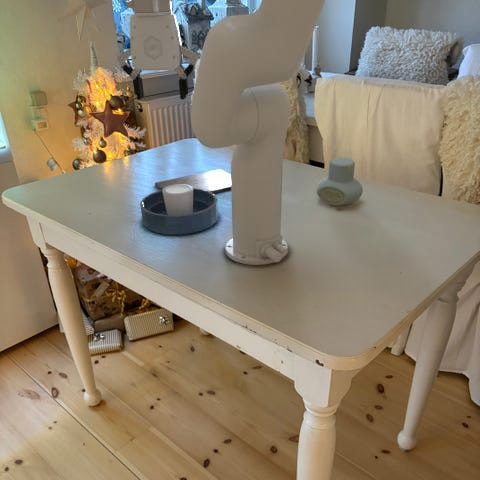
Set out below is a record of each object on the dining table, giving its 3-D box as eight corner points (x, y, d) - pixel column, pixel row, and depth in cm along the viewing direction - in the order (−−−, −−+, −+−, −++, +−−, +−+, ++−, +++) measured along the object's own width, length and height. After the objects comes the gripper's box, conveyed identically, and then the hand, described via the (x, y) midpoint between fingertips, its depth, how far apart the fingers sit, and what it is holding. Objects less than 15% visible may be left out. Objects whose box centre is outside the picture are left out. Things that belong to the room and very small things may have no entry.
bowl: (231, 223, 111) (230, 204, 108) (161, 242, 103) (159, 222, 101) (196, 200, 123) (195, 182, 120) (131, 215, 116) (129, 197, 113)
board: (245, 186, 130) (245, 183, 130) (177, 202, 122) (177, 198, 121) (219, 172, 140) (219, 169, 140) (155, 186, 132) (154, 182, 131)
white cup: (160, 222, 111) (157, 193, 107) (172, 211, 117) (169, 182, 113) (188, 226, 109) (186, 195, 105) (199, 214, 115) (197, 185, 111)
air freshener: (365, 200, 120) (371, 160, 115) (352, 212, 115) (357, 169, 109) (325, 192, 125) (328, 153, 120) (310, 203, 120) (313, 162, 114)
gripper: (104, 8, 96) (118, 102, 106) (191, 6, 94) (197, 101, 104) (116, 6, 102) (129, 95, 112) (198, 4, 100) (203, 95, 110)
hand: (162, 98), depth 108 cm, fingers open, 9 cm apart
